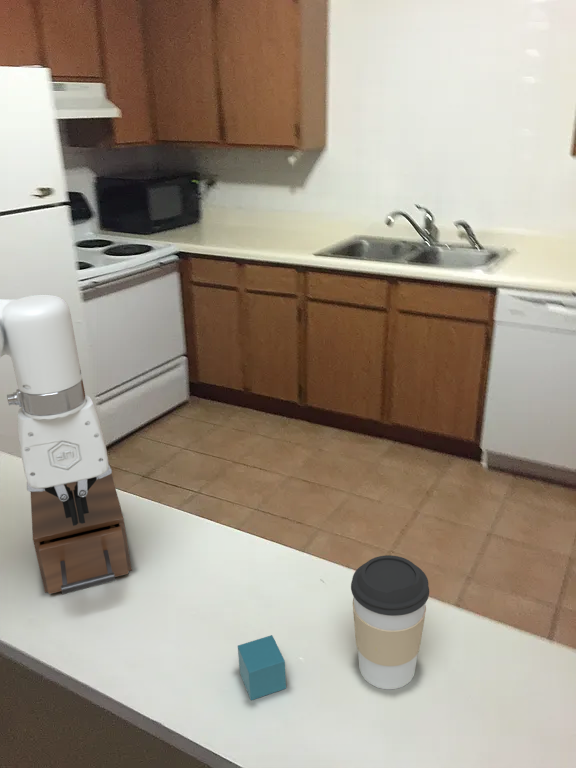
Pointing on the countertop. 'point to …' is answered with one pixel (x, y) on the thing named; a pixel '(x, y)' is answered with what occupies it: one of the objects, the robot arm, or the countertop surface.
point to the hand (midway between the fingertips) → (78, 518)
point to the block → (262, 667)
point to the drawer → (83, 559)
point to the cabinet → (55, 524)
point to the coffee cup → (389, 619)
